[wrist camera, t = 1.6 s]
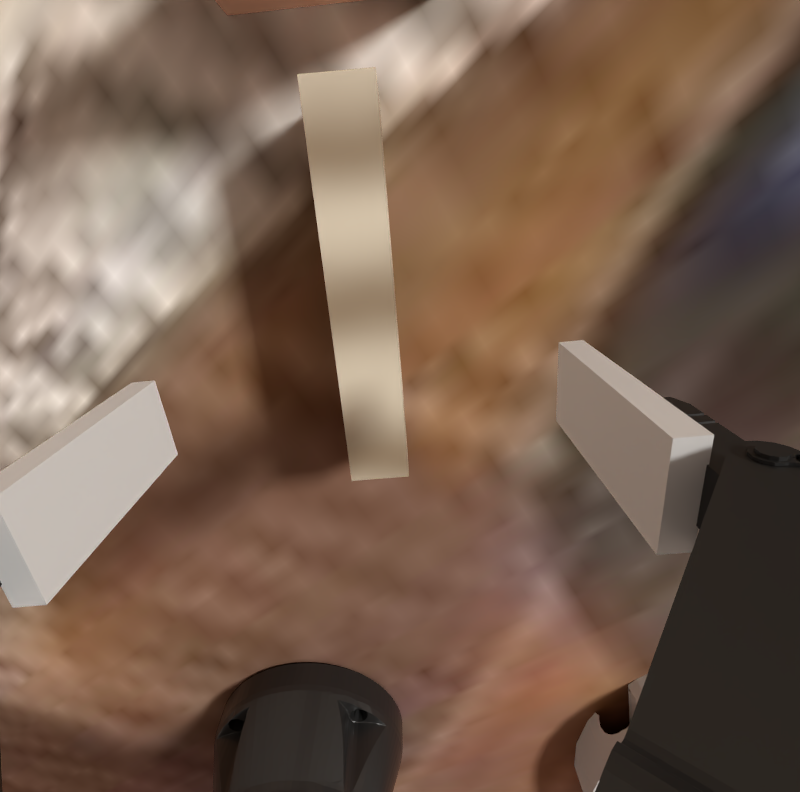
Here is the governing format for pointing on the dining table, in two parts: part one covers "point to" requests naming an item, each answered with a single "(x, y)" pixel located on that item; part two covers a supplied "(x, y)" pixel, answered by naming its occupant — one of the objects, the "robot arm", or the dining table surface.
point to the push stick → (357, 263)
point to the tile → (269, 5)
